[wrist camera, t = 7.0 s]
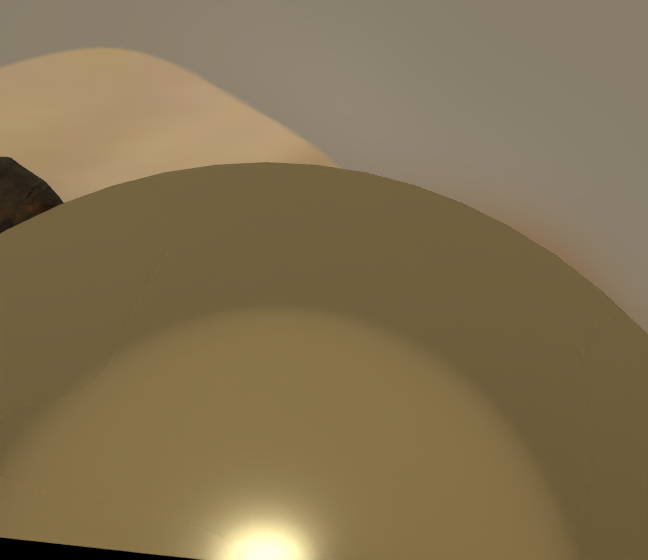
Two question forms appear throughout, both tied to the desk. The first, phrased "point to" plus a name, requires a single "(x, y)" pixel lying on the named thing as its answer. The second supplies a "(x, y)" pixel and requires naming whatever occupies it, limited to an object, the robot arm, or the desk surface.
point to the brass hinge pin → (310, 379)
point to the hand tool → (22, 194)
